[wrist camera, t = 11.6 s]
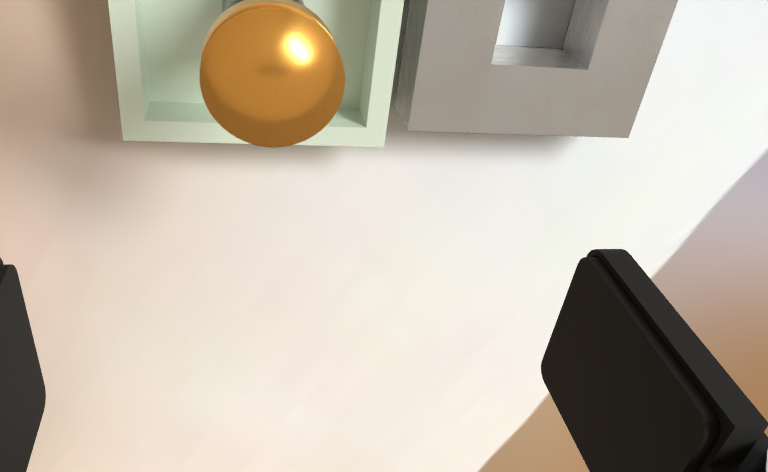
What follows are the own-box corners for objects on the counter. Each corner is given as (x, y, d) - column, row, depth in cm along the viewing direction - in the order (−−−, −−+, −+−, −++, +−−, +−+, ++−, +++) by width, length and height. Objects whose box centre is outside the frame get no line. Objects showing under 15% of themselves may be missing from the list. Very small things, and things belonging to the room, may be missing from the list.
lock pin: (207, -63, 27) (196, 3, 19) (317, -52, 28) (351, 15, 20) (209, 46, 30) (201, 145, 22) (310, 52, 31) (338, 148, 23)
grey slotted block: (432, -163, 27) (453, -159, 25) (681, -128, 30) (721, -121, 27) (394, 106, 34) (407, 130, 31) (601, 114, 36) (628, 137, 34)
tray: (101, -179, 25) (89, -176, 22) (406, -139, 27) (422, -132, 25) (130, 114, 31) (122, 140, 29) (373, 123, 34) (384, 147, 32)
